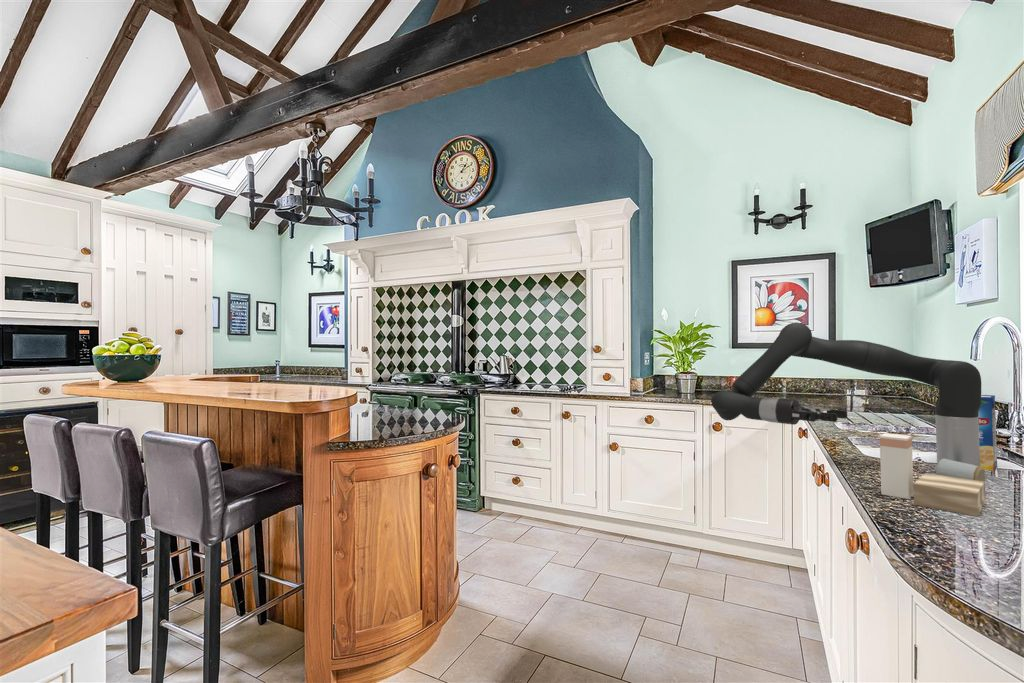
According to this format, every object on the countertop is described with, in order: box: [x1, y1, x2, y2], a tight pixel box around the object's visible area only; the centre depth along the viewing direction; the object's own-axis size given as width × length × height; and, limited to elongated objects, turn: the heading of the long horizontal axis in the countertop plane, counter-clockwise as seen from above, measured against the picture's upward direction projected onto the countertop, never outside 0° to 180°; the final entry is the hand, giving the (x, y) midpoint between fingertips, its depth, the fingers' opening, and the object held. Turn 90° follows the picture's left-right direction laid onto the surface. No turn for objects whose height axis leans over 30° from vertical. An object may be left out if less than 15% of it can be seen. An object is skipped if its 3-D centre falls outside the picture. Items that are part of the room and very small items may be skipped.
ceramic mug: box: [935, 459, 986, 482], centre depth 125 cm, size 11×8×8 cm
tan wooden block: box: [913, 472, 987, 517], centre depth 114 cm, size 14×11×5 cm
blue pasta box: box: [978, 394, 998, 472], centre depth 148 cm, size 7×11×22 cm, turn 39°
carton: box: [878, 432, 914, 500], centre depth 122 cm, size 6×6×15 cm
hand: (842, 416), depth 131 cm, fingers open, 8 cm apart
